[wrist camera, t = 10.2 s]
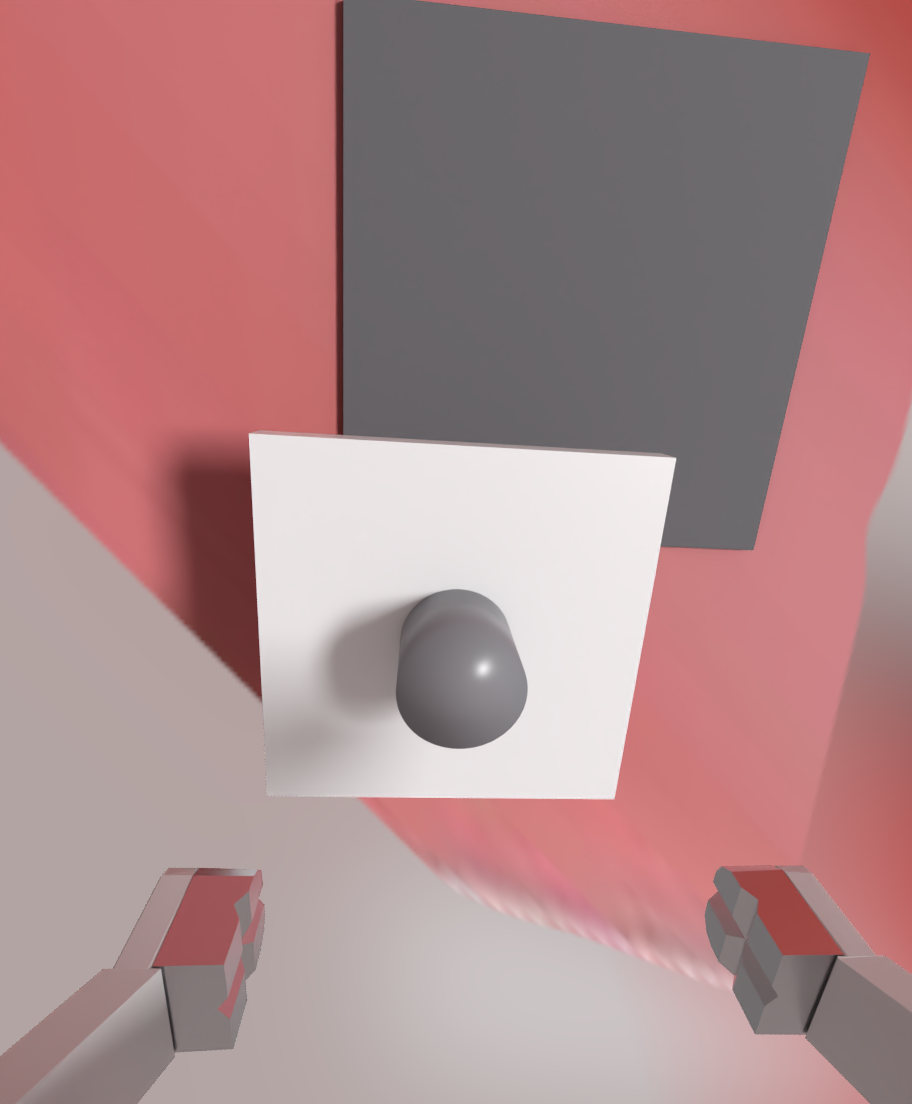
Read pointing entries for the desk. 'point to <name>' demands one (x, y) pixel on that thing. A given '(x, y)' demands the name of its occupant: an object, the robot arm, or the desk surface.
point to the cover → (450, 613)
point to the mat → (586, 239)
